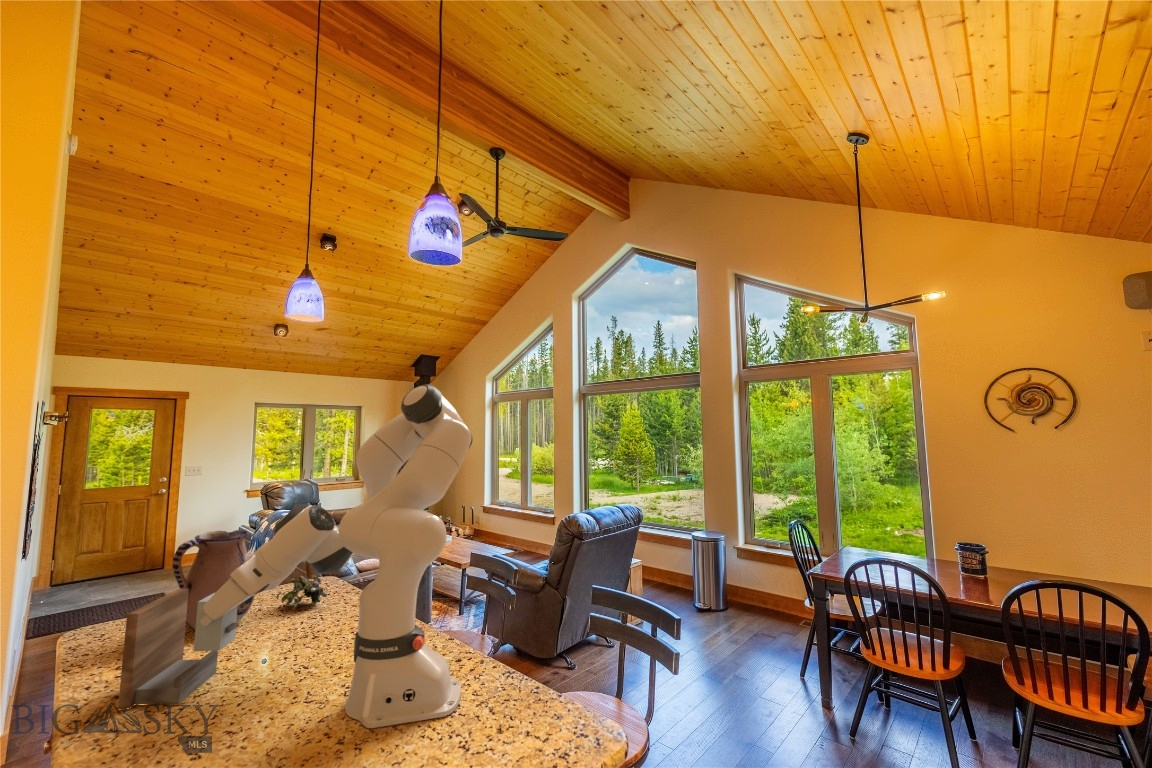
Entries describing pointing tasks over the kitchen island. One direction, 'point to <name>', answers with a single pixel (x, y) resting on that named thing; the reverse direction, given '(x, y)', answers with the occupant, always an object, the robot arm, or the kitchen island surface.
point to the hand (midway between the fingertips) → (214, 616)
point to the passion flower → (308, 587)
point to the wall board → (160, 655)
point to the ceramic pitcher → (211, 568)
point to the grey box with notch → (214, 629)
